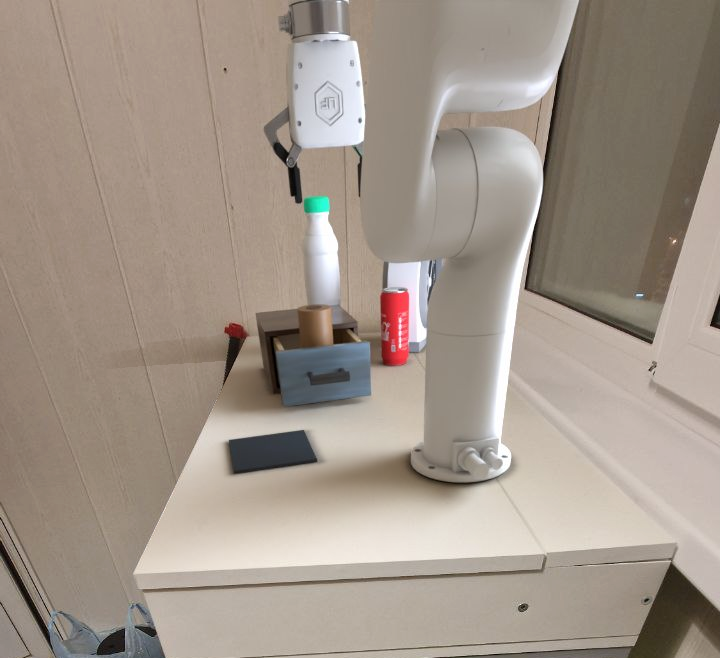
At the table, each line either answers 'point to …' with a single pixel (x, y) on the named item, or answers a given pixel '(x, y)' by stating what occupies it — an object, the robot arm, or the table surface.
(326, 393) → the drawer
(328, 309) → the paper roll
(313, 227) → the water bottle
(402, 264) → the white and grey container
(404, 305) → the beverage can
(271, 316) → the cabinet
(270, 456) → the mat
